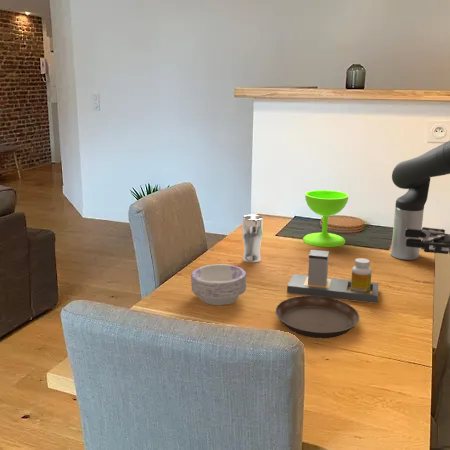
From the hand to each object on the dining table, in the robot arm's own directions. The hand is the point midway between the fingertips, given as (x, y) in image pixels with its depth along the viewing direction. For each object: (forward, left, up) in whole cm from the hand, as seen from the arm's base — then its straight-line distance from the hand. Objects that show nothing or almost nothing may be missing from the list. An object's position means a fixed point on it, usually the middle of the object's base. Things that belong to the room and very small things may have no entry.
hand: (405, 237), depth 142 cm
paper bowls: (+15, -48, -18) cm, 54 cm away
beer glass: (-20, -47, -18) cm, 54 cm away
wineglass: (-50, -26, -18) cm, 59 cm away
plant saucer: (+22, -20, -19) cm, 35 cm away
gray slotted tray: (0, -18, -18) cm, 26 cm away
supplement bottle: (0, -11, -18) cm, 21 cm away
